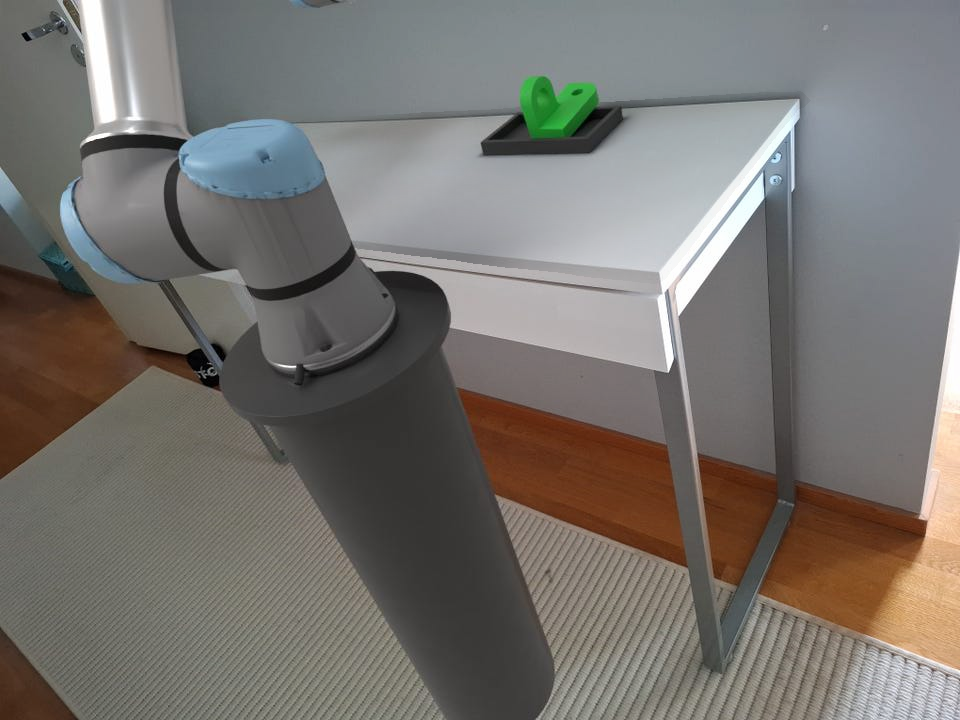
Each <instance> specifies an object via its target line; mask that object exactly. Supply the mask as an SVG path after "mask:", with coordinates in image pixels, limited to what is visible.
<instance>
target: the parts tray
mask: <svg viewBox="0 0 960 720" xmlns="http://www.w3.org/2000/svg"><path fill="white" fill-rule="evenodd" d="M623 120H624V116H623V107H622V105H610V106H596V107H595V108H594V110H593V111H592V112H591V113H590V114H589V116H588V117H587V118H586V119H585V120H584V121H583V123H582V124H581V125H580V126H579V127H578V129H577V130H576V131H575V132H574V133H573V134H572V136H571V137H557V138H531V136H530V133H529V130H528V127H527V124H526V121H525V118H524V115H523V112H522V111H518V112H517V113H515V114H514V115H513V116H511V117H510V118H509V119H507V120H506V121H505V122H504V123H502V124H501V125H500V126H499V127H498V128H497V129H495V130H493V132H492V133H490V134H489V135H487V136H486V137H485V138H484V139H482V141H480V146H481V151H482V154H483V156H498V155H499V156H502V155H504V156H505V155H506V156H507V155H544V154H545V155H549V154H587V153H588V154H591V152H592V151H593V150H594V149H595V148H596V147H597V146H598V145H599V144H600V143H601V142H602V141H603V140H604V139H605V138H606V137H607V136H608V135H609V134H610V133H611V132H612V131H613V130H614V129H615V128H616V127H617V126H618V125H619V124H620V123H621V122H622V121H623Z"/></svg>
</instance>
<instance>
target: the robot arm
mask: <svg viewBox="0 0 960 720" xmlns="http://www.w3.org/2000/svg"><path fill="white" fill-rule="evenodd" d="M76 1H77V8H78V16H79V23H80V31H81V38H82V39H81V40H82V45H83V53H84V54H83V55H84V61H85V66H86V75H87V83H88V90H89V98H90V105H91V111H92V119H93V126H94V128H93V131H92V132H91V133H89V135H88V136H87V137H85V138H84V139H83V140H82V141H81V142H80V144H79V153H80V159H81V169H82V175H81V176H79V177H78V178H76V179H74V180H72V182H70V183H69V184H68V185H67V189H66V190H65V191H63V193H62V195H61V198H60V202H59V203H60V204H59V215H60V221H61V225H62V228H63V231H64V234H65V236H66V239H67V241H68V242H69V244H70V246H71V247H72V249H73V250H74V252H75V253H76V255H77V256H78V257H79V258H80V259H81V260H82V262H86V263H87V264H88V265H89V267H90V268H91V269H92V270H93V271H94V272H95V273H96V274H98V275H99V276H102V277H103V278H105V279H107V280H110V281H112V282H114V283H120V284H125V285H136V284H145V283H146V284H162V283H165V282H167V281H169V280H172V279H179V278H185V277H191V276H192V277H193V276H199V275H205V274H212V273H217V272H218V273H219V272H224V271H229V270H231V271H232V270H237V271H238V273H239V275H240V277H241V278H242V280H243V282H244V285H246V287H247V290H248V291H249V294H250V295H251V297H252V299H253V302H254V309H255V316H256V322H258V328H259V334H260V339H261V341H260V342H261V348H262V352H263V354H264V356H265V358H266V360H267V362H268V363H269V365H270V367H271V368H272V370H274V371H275V372H276V373H277V374H280V375H282V376H285V377H289V378H295V379H294V384H295V385H298V386H302V385H303V382H304V378H313V377H319V376H324V375H327V374H331V373H334V372H337V371H340V370H342V369H345V368H347V367H349V366H351V365H354V364H355V363H357V362H359V361H361V360H363V359H364V358H366V357H367V356H369V355H370V354H372V353H373V352H374V351H376V350H377V349H378V348H379V347H380V346H382V345H383V344H384V343H385V342H386V341H387V339H388V338H389V337H390V336H391V334H392V333H393V331H394V330H395V328H396V326H397V323H398V317H399V315H398V310H397V307H396V305H395V302H394V300H393V297H392V295H391V294H390V293H389V291H388V290H387V289H386V288H385V287H384V286H383V284H382V283H381V282H380V281H379V280H378V279H377V277H376V276H375V275H377V274H376V273H375V272H376V271H375V270H374V269H373V268H372V267H369V266H368V265H366V263H364V261H363V260H362V259H361V258H360V257H359V255H358V252H357V251H356V248H355V246H354V243H353V241H352V238H351V235H350V233H349V230H348V228H347V226H346V222H345V221H344V218H343V216H342V213H341V210H340V208H339V206H338V203H337V201H336V198H335V196H334V193H333V191H332V188H331V186H330V184H329V181H328V179H327V176H326V171H325V166H324V165H323V163H322V161H321V160H320V159H319V156H318V155H317V152H316V151H315V149H314V147H313V145H312V143H311V141H310V139H309V137H308V135H307V134H306V132H305V131H303V129H301V128H300V127H299V126H297V125H295V124H293V123H291V122H289V121H287V120H282V119H275V118H274V119H273V118H269V119H268V118H264V119H262V118H261V119H260V118H259V119H258V118H257V119H249V120H242V121H237V122H232V123H228V124H227V125H225V126H222V127H214V128H211V129H207V130H206V131H203V132H201V133H199V134H196V135H194V136H193V135H192V134H190V132H189V131H188V124H187V123H188V122H187V116H186V108H185V101H184V91H183V86H182V77H181V71H180V62H179V54H178V46H177V40H176V30H175V24H174V16H173V15H174V14H173V7H172V1H171V0H76ZM288 1H289V2H290V3H292V5H294V6H295V7H298V8H300V9H301V8H302V9H309V8H312V9H313V8H315V9H319V8H321V7H328V6H331V5H336V4H340V3H341V4H342V3H345V2H349V5H351V6H353V5H355V4H356V2H357V0H288ZM374 274H375V275H374Z"/></svg>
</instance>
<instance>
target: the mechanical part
mask: <svg viewBox="0 0 960 720" xmlns="http://www.w3.org/2000/svg"><path fill="white" fill-rule="evenodd" d="M599 102H600V99H599V94H598V90H597V85H595V84H594V83H592V82H569V83H567V84H566V86H565V87H563V89H562V90H561V91H560V92H559V93H558V94H557V95H556V93H555V90H554V86H553V84H552V81H551V80H550V79H549V78H548V77H547V76H545V75H540V76H528V77H527V78H525V80H523V83H522V85H521V87H520V92H519V104H520V108H521V112H523V115H524V118H525V121H526V124H527V127H528V130H529V133H530V136H531V138H557V137H571V136H572V134H573V133H574V132H575V131H576V130H577V129H578V127H579V126H580V125H581V124H582V123H583V121H584V120H585V119H586V118H587V117H588V116H589V114H590V113H591V112H592V111H593V110H594V108H595V107H598V105H599Z"/></svg>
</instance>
